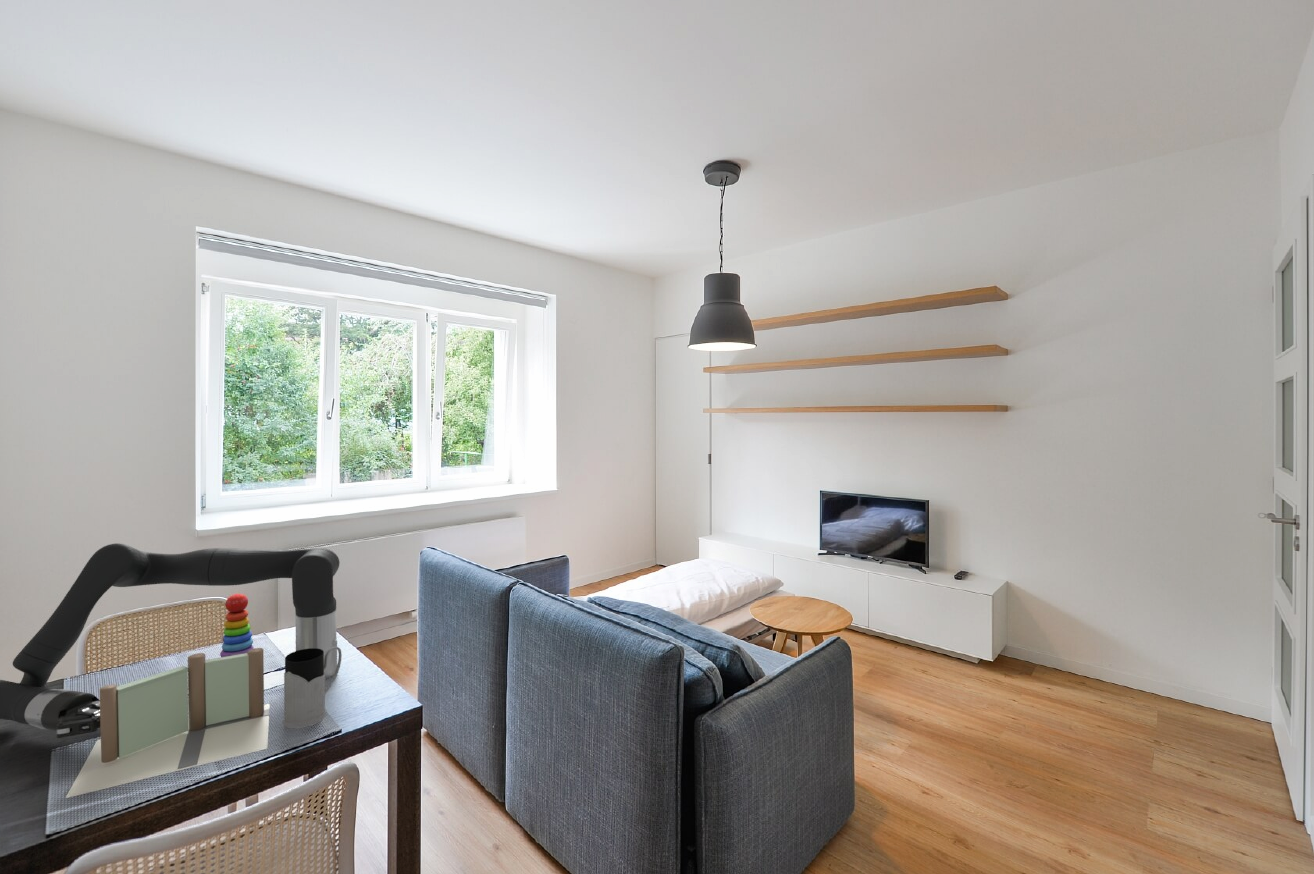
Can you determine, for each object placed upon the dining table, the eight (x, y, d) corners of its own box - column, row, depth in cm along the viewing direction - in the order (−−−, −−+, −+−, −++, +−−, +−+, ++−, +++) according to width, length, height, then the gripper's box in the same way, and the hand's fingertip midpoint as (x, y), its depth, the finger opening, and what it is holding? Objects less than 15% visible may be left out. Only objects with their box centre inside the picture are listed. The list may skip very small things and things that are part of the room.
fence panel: (184, 727, 126) (183, 661, 125) (189, 730, 125) (188, 664, 124) (99, 761, 114) (97, 688, 113) (104, 765, 112) (102, 691, 112)
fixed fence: (264, 710, 135) (263, 642, 134) (263, 716, 132) (263, 647, 131) (190, 726, 127) (188, 654, 127) (188, 732, 125) (186, 660, 124)
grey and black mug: (272, 725, 129) (272, 659, 128) (326, 695, 143) (326, 636, 142) (302, 733, 127) (302, 666, 126) (355, 702, 140) (354, 641, 139)
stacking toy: (262, 658, 162) (261, 592, 162) (233, 670, 155) (232, 601, 154) (242, 653, 165) (241, 588, 164) (212, 665, 158) (211, 597, 157)
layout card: (269, 705, 138) (269, 703, 138) (267, 750, 120) (267, 747, 120) (97, 741, 122) (97, 739, 122) (65, 799, 104) (65, 797, 104)
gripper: (20, 708, 114) (89, 720, 110) (98, 677, 127) (161, 687, 123) (21, 745, 114) (90, 758, 111) (99, 711, 127) (162, 722, 124)
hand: (127, 721), depth 117 cm, fingers closed
